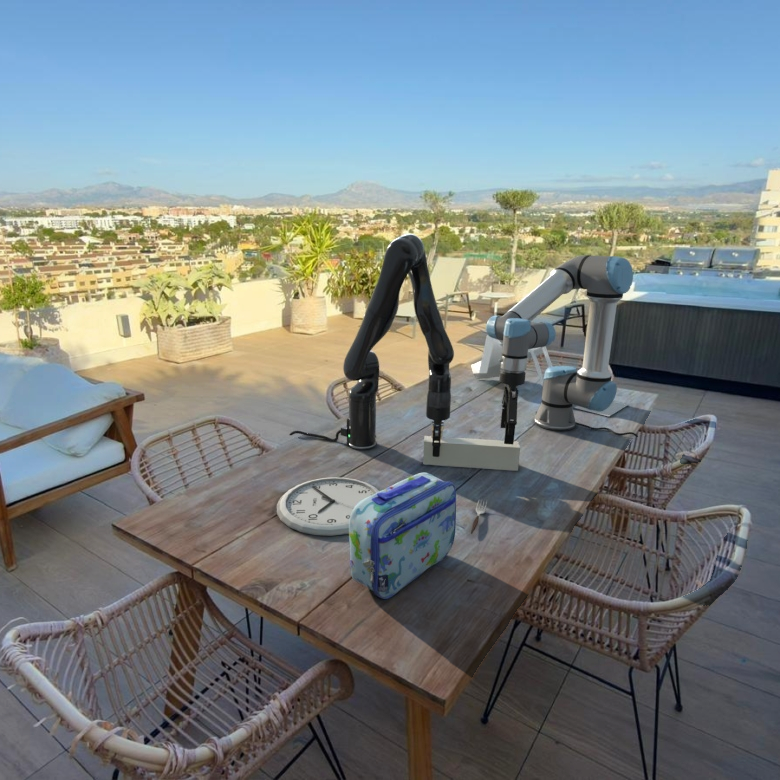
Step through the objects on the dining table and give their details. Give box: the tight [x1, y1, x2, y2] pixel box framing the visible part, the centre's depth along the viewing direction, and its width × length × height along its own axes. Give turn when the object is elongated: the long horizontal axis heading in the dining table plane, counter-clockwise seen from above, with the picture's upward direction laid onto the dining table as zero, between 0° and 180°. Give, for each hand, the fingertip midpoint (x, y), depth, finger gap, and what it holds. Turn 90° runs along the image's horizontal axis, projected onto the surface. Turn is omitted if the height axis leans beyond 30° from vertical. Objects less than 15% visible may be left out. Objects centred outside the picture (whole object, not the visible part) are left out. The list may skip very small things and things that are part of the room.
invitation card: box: [573, 400, 629, 418], centre depth 226 cm, size 21×1×15 cm
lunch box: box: [348, 471, 457, 600], centre depth 113 cm, size 26×11×21 cm, turn 134°
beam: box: [422, 435, 521, 472], centre depth 168 cm, size 30×5×8 cm, turn 83°
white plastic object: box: [470, 334, 554, 388], centre depth 255 cm, size 37×45×31 cm
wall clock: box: [276, 476, 381, 537], centre depth 142 cm, size 30×2×30 cm
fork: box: [470, 498, 488, 535], centre depth 136 cm, size 3×16×2 cm, turn 160°
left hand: (436, 452), depth 169 cm, fingers closed on beam, 5 cm apart
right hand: (506, 435), depth 164 cm, fingers open, 13 cm apart
